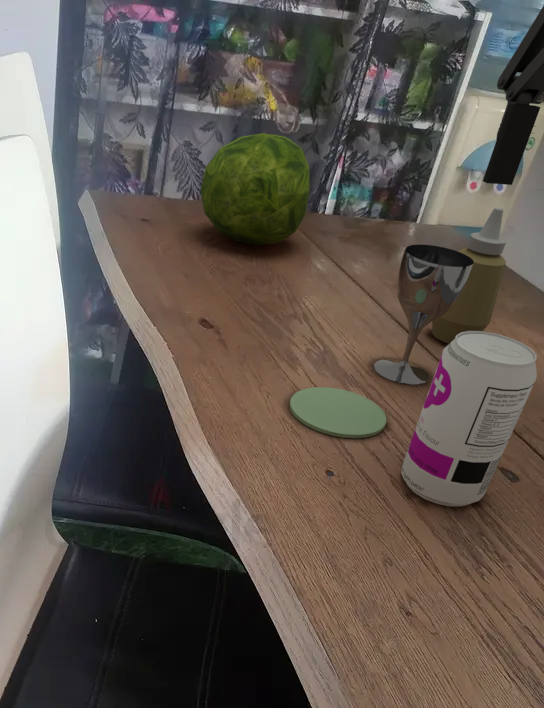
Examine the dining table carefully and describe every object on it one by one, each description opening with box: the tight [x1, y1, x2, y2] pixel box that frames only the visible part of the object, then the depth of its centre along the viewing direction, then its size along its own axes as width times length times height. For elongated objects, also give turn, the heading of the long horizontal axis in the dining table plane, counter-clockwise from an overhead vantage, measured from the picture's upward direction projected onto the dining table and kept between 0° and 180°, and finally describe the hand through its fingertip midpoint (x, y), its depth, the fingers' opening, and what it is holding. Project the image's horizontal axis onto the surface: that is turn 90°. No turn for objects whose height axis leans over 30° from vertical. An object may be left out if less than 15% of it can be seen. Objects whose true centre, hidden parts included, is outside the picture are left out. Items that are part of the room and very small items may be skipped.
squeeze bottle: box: [431, 207, 507, 345], centre depth 101 cm, size 8×8×18 cm
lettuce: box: [199, 132, 311, 246], centre depth 131 cm, size 19×23×18 cm
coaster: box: [289, 386, 387, 439], centre depth 84 cm, size 11×11×1 cm
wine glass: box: [373, 244, 474, 385], centre depth 91 cm, size 8×8×15 cm
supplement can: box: [400, 331, 538, 507], centre depth 69 cm, size 8×8×15 cm
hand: (540, 203), depth 64 cm, fingers open, 13 cm apart
